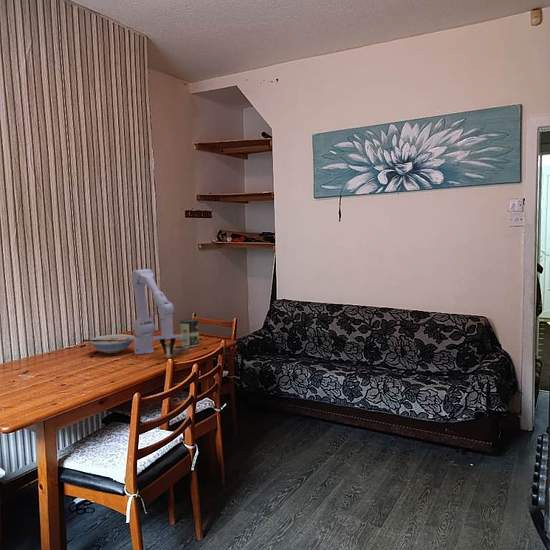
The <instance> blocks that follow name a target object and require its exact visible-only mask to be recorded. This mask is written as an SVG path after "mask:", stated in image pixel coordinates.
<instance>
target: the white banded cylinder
mask: <svg viewBox="0 0 550 550" xmlns="http://www.w3.org/2000/svg"><path fill="white" fill-rule="evenodd" d="M170 347H171V346H170V343H168V342H167V343H165V350H166V354H165V358H166V359H170V357H172V354H171V351H170Z"/></svg>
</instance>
